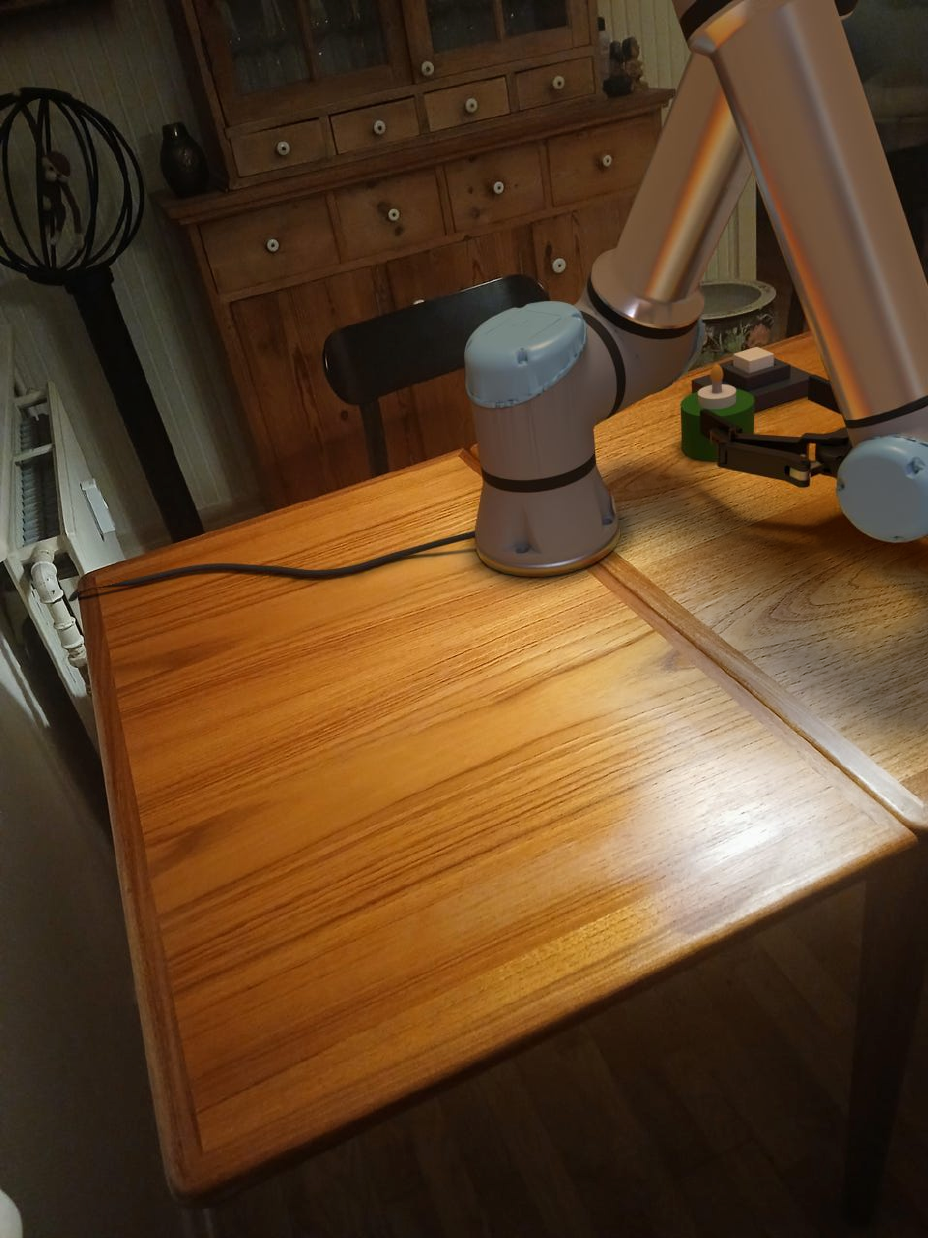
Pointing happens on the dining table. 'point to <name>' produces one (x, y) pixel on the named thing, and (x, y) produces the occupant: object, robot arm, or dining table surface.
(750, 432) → the candle
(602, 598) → the dining table surface
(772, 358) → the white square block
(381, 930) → the dining table surface
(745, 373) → the tiered dark pedestal
